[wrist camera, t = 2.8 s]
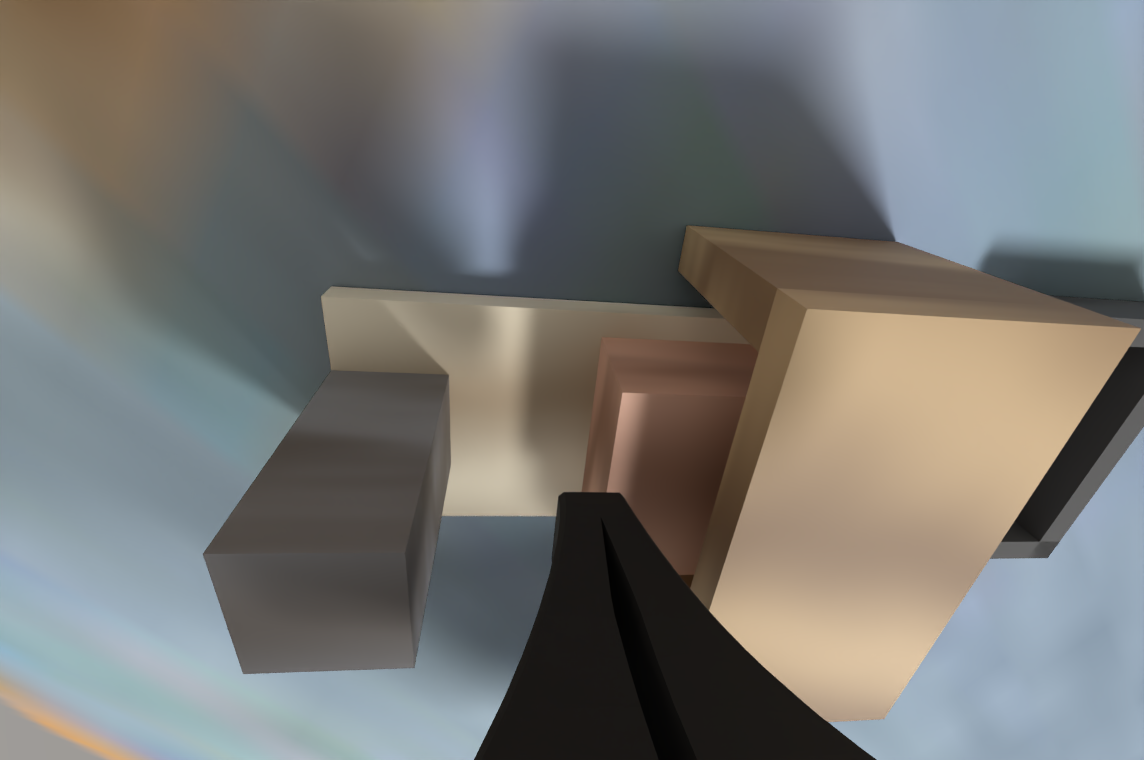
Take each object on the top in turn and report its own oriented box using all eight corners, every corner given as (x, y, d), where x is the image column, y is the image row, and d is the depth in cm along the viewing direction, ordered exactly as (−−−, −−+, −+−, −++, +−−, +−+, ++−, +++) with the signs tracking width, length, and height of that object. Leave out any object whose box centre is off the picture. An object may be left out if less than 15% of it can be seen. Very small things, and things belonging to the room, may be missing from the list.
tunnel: (779, 545, 19) (883, 718, 14) (624, 546, 18) (669, 730, 13) (897, 241, 14) (1141, 328, 8) (686, 224, 13) (807, 308, 8)
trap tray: (1005, 522, 20) (1047, 557, 18) (888, 521, 19) (921, 559, 18) (1147, 302, 16) (1218, 323, 14) (1004, 292, 15) (1061, 314, 13)
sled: (861, 501, 19) (1032, 696, 12) (358, 498, 16) (263, 736, 10) (944, 321, 15) (1232, 465, 9) (331, 286, 13) (166, 446, 7)
